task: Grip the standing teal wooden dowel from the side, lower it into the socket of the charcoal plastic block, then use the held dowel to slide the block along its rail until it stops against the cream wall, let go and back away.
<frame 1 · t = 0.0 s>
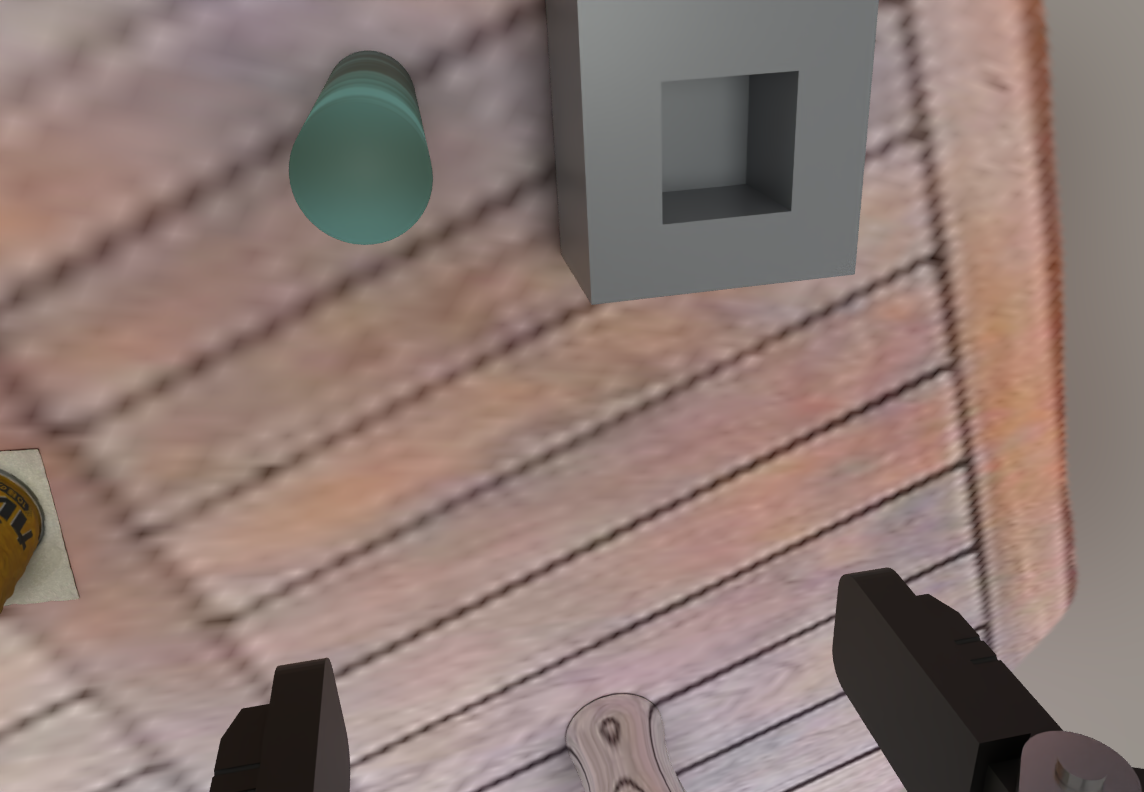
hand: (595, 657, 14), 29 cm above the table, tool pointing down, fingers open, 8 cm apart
beer glass: (613, 728, 55), on the table
socket block: (700, 134, 37), point 4 cm above the table, slide at 0.0 cm
dowel: (371, 97, 37), on the table
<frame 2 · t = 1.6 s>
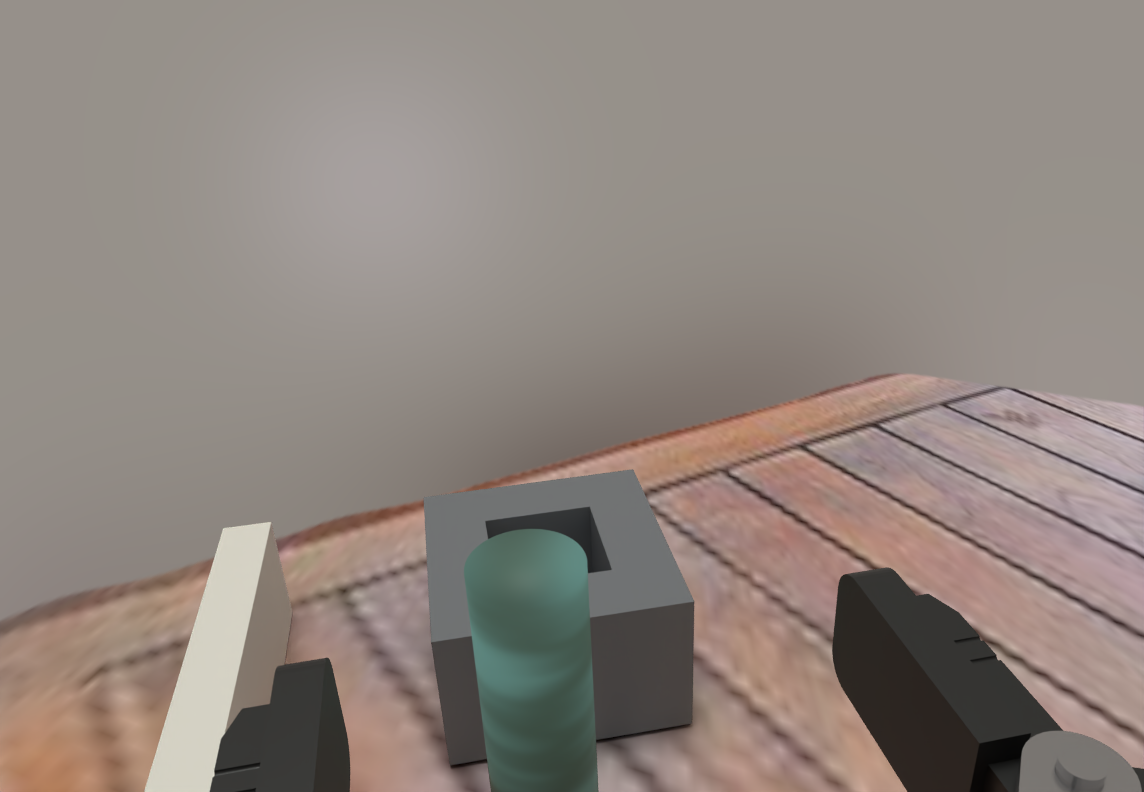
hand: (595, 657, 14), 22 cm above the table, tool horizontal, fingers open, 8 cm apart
socket block: (549, 603, 44), point 4 cm above the table, slide at 0.0 cm
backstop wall: (239, 777, 40), on the table
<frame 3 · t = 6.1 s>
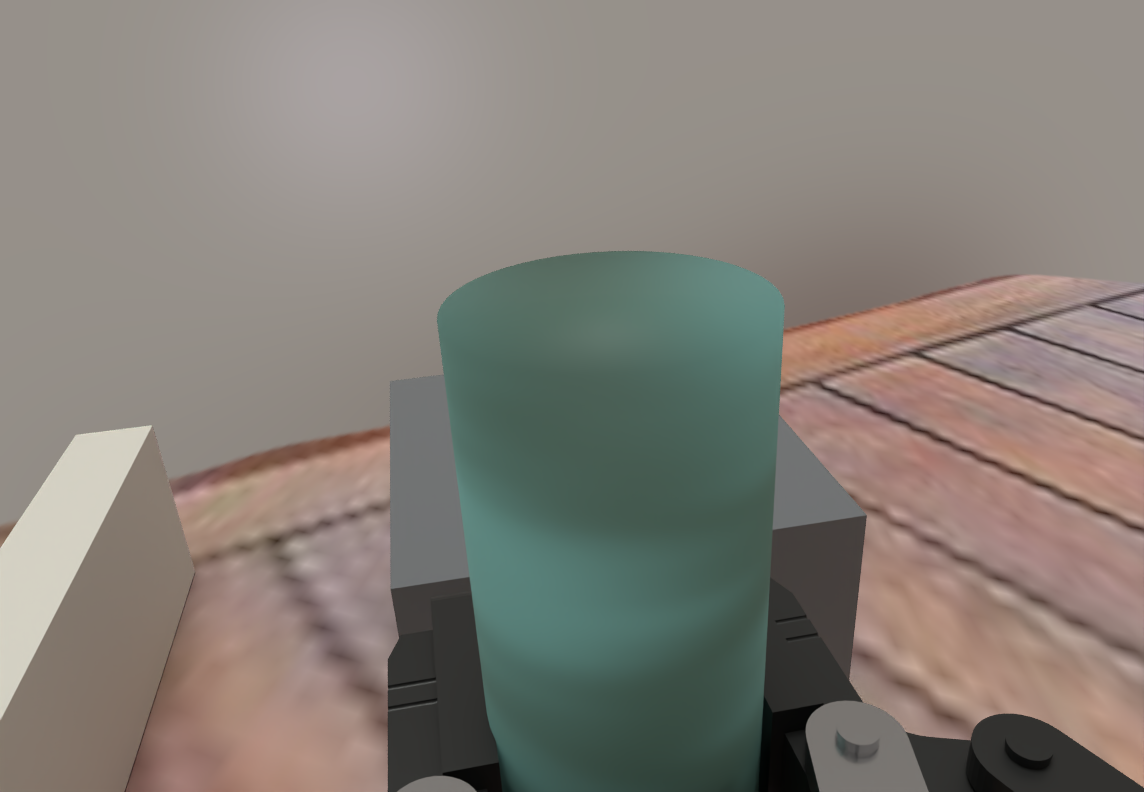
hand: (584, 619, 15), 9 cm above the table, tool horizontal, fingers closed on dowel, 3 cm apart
socket block: (594, 540, 27), point 4 cm above the table, slide at 0.0 cm
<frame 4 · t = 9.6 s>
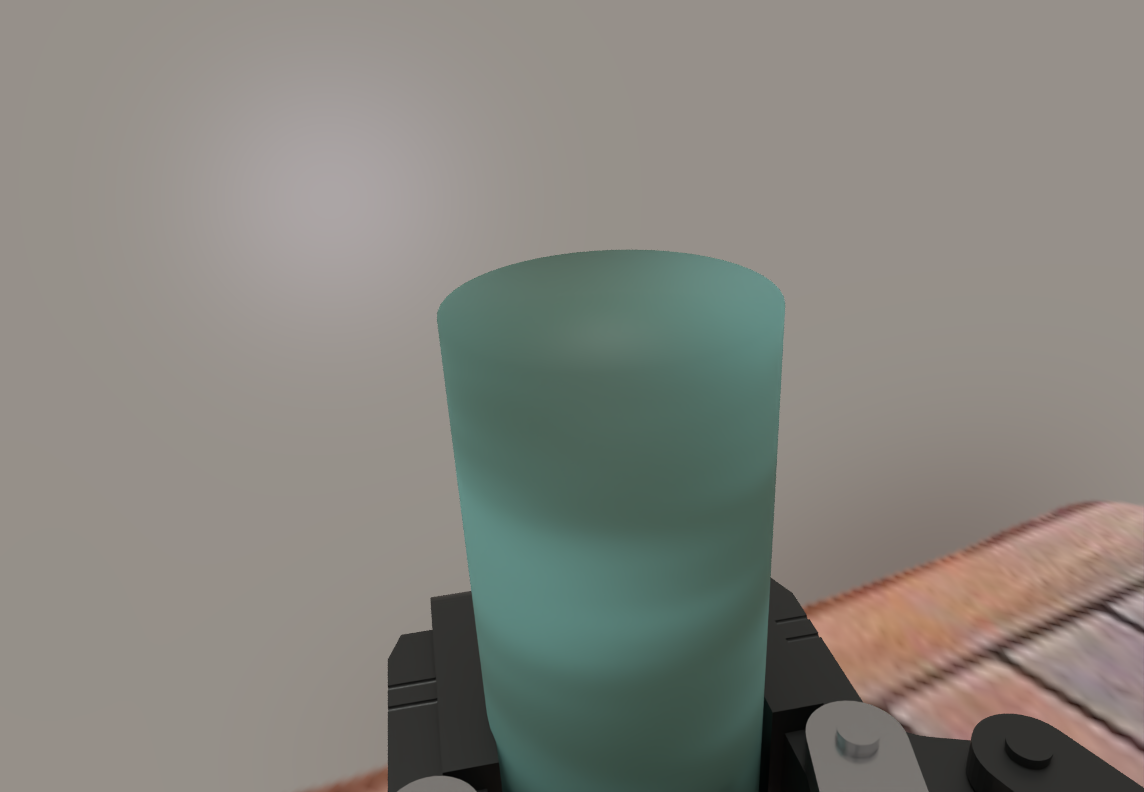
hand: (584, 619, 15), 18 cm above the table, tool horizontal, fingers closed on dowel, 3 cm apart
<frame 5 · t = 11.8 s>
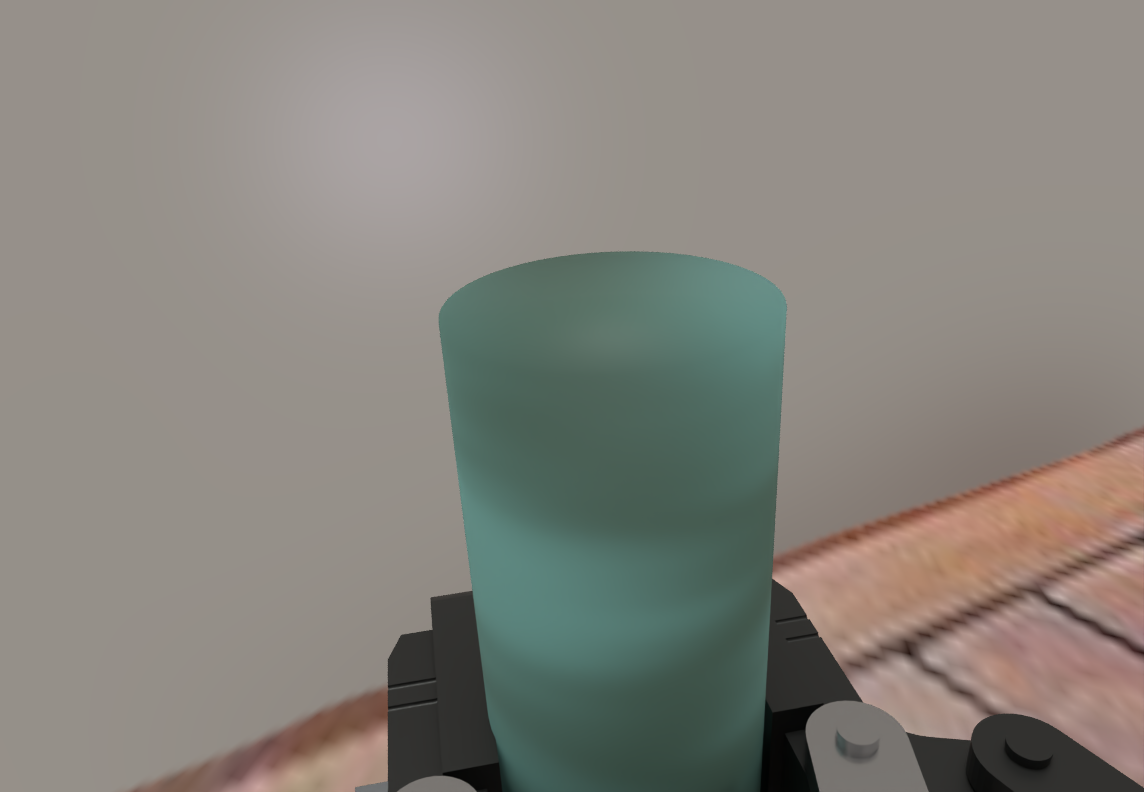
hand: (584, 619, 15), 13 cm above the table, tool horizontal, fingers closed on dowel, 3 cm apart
when the fingers open (13 cm above the table, at t = 13.0 s): dowel drops 1 cm, resting on socket block.
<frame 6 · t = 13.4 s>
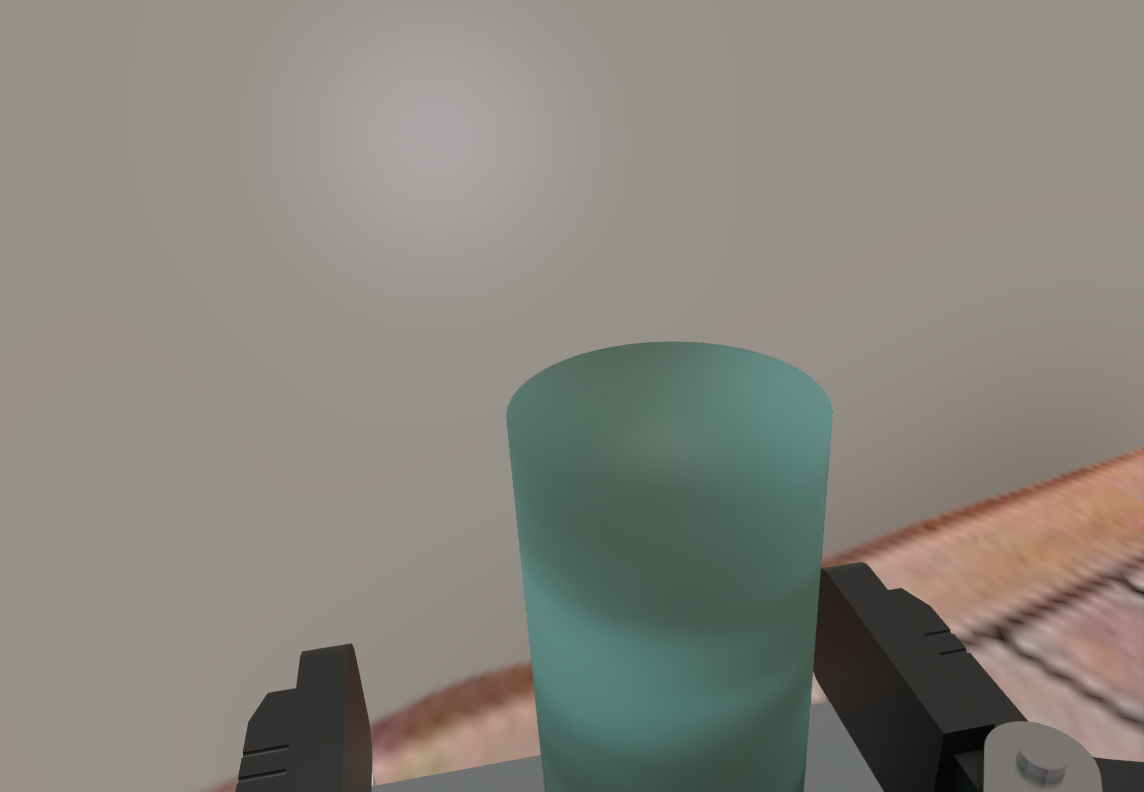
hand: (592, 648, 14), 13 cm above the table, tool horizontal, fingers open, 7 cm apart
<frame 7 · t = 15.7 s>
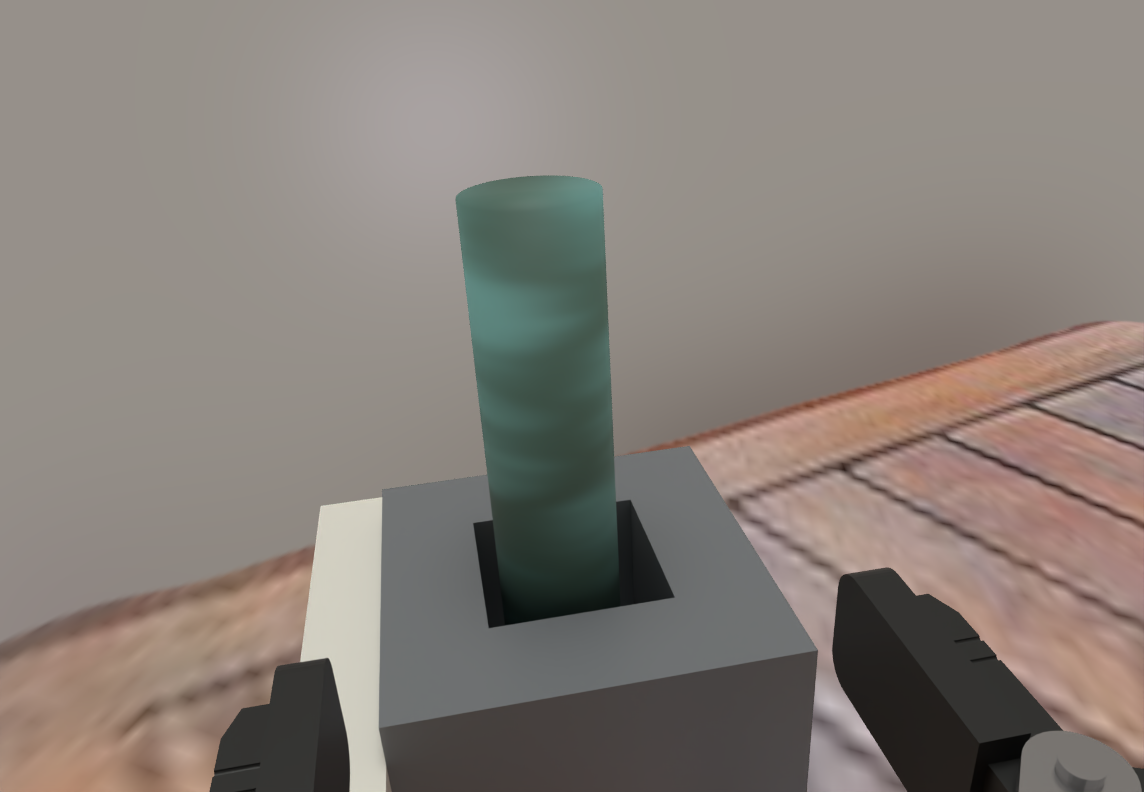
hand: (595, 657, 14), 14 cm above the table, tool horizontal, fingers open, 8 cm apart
socket block: (573, 648, 28), point 4 cm above the table, slide at 8.0 cm, touching dowel
dowel: (568, 685, 29), point 2 cm above the table, touching socket block
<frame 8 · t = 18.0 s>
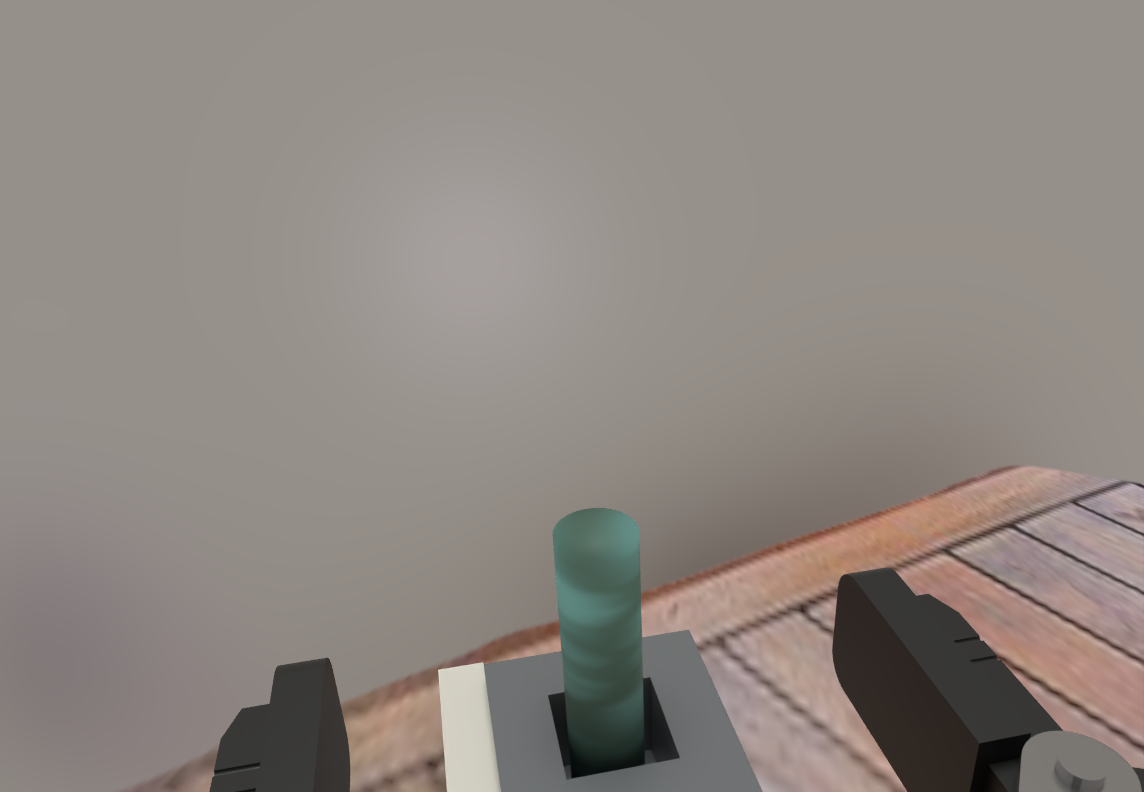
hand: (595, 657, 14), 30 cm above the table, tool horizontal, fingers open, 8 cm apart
socket block: (613, 777, 44), point 4 cm above the table, slide at 8.0 cm, touching dowel
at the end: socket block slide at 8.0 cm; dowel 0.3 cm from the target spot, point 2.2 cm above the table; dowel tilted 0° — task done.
